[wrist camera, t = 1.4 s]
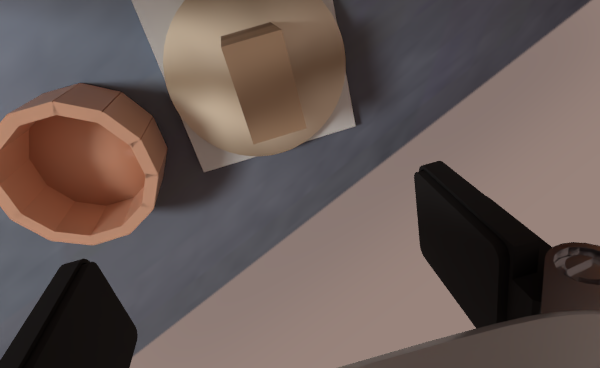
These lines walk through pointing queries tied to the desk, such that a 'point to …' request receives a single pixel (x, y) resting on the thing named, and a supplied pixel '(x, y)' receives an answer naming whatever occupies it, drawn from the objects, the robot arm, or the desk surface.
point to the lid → (254, 71)
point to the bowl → (80, 164)
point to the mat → (156, 20)
